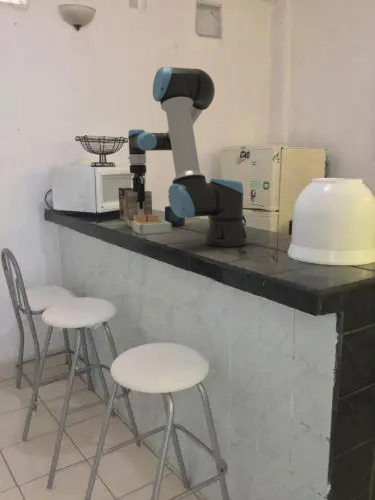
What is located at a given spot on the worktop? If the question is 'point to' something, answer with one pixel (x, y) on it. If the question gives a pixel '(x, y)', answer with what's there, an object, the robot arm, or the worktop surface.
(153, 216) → the tile
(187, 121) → the robot arm
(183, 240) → the worktop surface
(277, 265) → the worktop surface
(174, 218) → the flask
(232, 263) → the worktop surface
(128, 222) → the board
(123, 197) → the coffee box
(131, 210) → the tan block
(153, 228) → the tray
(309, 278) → the worktop surface
